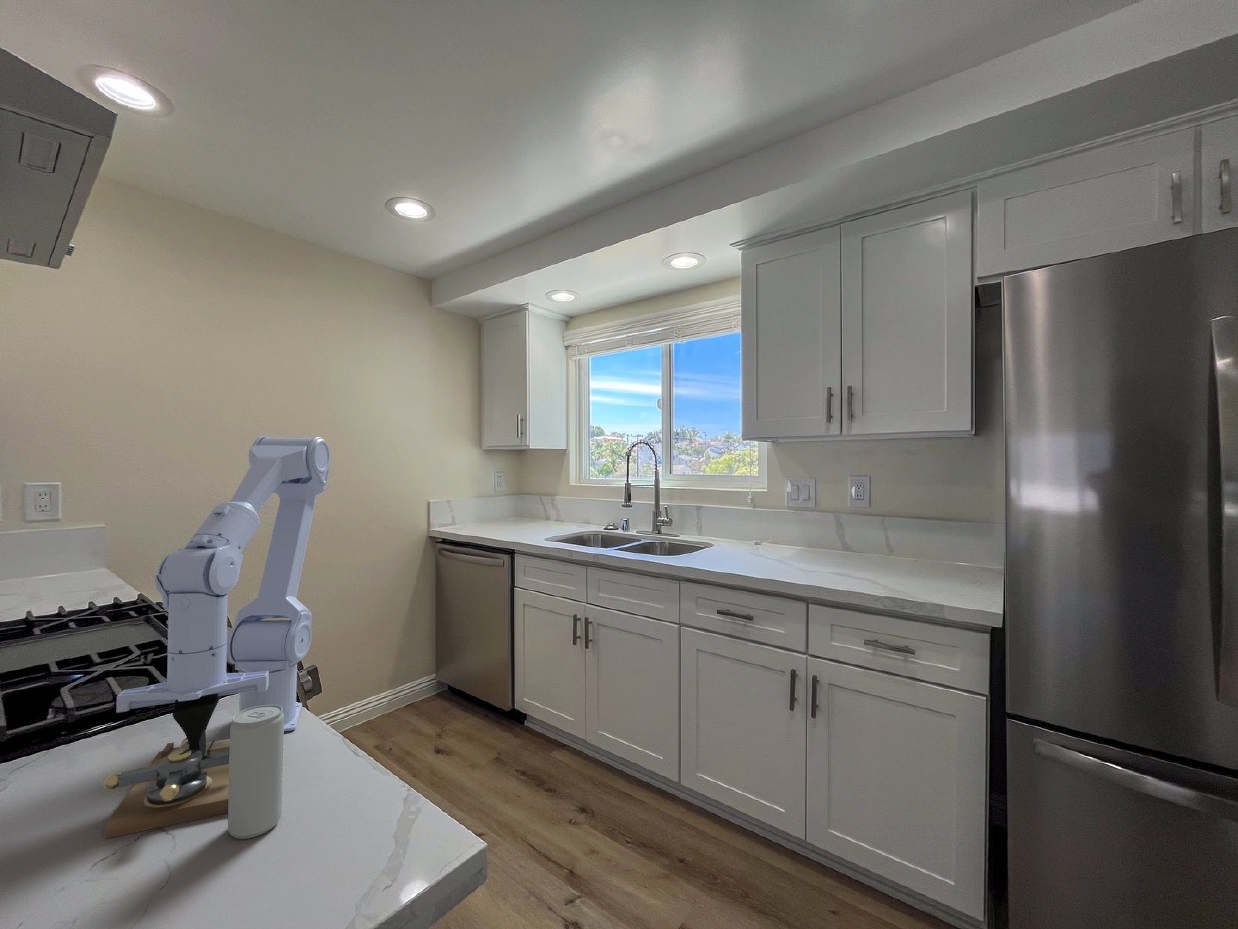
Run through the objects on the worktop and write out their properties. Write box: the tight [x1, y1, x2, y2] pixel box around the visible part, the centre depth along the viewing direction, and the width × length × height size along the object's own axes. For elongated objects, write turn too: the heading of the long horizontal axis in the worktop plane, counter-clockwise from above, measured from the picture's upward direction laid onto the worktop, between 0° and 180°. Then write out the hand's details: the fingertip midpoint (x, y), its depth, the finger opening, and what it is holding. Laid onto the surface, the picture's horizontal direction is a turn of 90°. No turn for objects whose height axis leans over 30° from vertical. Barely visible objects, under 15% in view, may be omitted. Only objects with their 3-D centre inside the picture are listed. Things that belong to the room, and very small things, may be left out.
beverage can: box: [227, 705, 285, 840], centre depth 58 cm, size 5×5×12 cm
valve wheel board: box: [104, 737, 230, 839], centre depth 65 cm, size 16×12×4 cm
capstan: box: [103, 739, 229, 805], centre depth 61 cm, size 13×13×4 cm
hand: (195, 758), depth 65 cm, fingers closed, pressing on capstan
